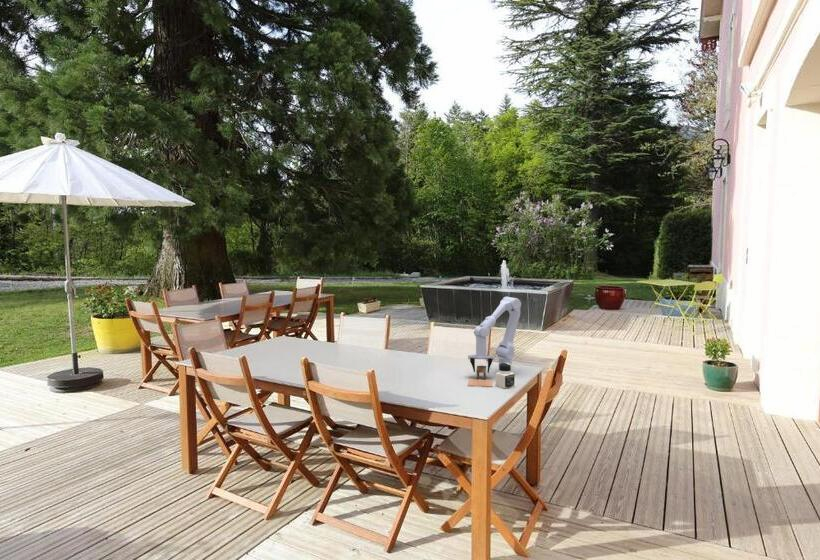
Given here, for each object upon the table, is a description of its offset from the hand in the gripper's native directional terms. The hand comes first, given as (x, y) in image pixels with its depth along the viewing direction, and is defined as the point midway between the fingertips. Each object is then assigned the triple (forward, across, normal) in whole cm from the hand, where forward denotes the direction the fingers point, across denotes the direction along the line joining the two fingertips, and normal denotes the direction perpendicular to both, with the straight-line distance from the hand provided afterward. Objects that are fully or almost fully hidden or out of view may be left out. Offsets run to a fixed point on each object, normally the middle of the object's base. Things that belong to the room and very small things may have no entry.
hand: (481, 372), depth 293 cm
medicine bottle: (+4, +13, -14) cm, 19 cm away
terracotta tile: (+3, 0, -11) cm, 12 cm away
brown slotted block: (+3, 0, 0) cm, 3 cm away
